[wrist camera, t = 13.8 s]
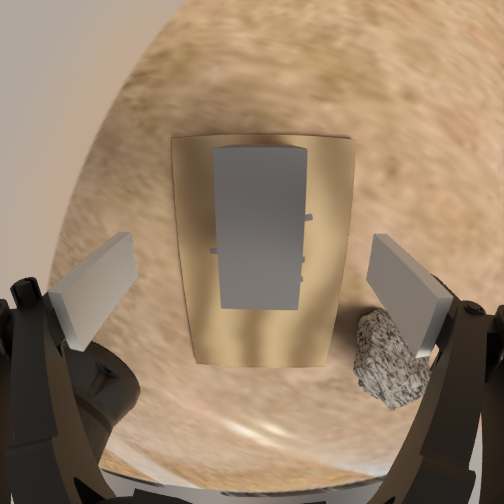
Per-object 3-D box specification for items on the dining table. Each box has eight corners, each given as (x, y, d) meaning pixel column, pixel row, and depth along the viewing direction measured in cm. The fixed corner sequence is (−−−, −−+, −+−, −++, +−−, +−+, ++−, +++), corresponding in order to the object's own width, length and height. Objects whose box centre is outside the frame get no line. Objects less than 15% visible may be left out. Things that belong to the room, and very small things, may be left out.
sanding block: (289, 254, 26) (297, 310, 18) (235, 253, 26) (221, 308, 18) (292, 145, 22) (307, 148, 14) (232, 144, 22) (213, 148, 14)
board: (198, 358, 33) (196, 363, 33) (174, 138, 23) (171, 138, 22) (323, 361, 33) (325, 366, 32) (352, 139, 22) (355, 139, 22)
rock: (327, 318, 30) (350, 395, 21) (390, 276, 27) (432, 347, 18) (375, 367, 36) (394, 423, 28) (422, 338, 34) (449, 392, 25)
